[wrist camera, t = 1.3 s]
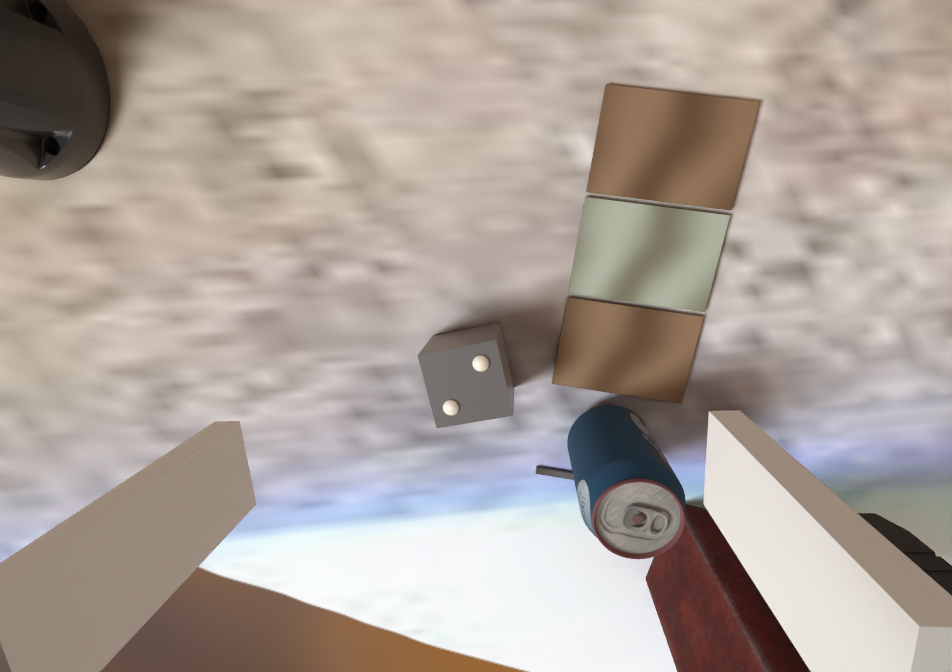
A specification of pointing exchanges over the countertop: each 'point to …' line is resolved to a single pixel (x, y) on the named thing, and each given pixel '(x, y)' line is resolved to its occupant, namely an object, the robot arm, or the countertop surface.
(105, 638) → the robot arm
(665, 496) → the soda can
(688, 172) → the game board
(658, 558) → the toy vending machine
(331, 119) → the countertop surface
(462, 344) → the die
